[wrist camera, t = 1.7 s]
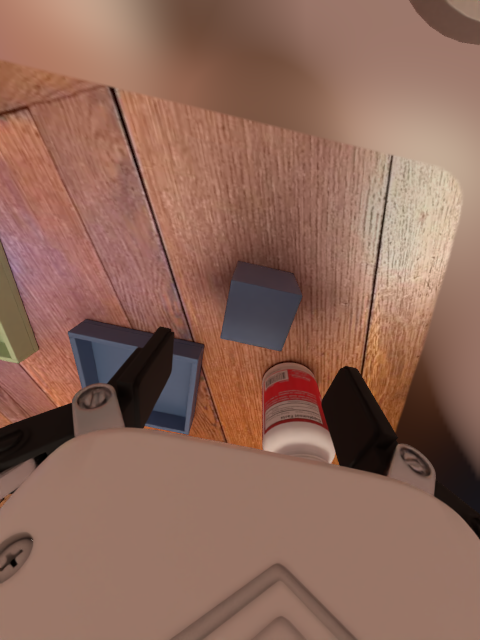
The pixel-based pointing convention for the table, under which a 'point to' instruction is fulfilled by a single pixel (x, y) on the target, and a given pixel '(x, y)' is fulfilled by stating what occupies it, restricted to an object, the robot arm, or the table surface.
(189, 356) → the block tray
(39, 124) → the table surface
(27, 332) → the tray
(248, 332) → the block
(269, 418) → the pill bottle
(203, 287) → the table surface
